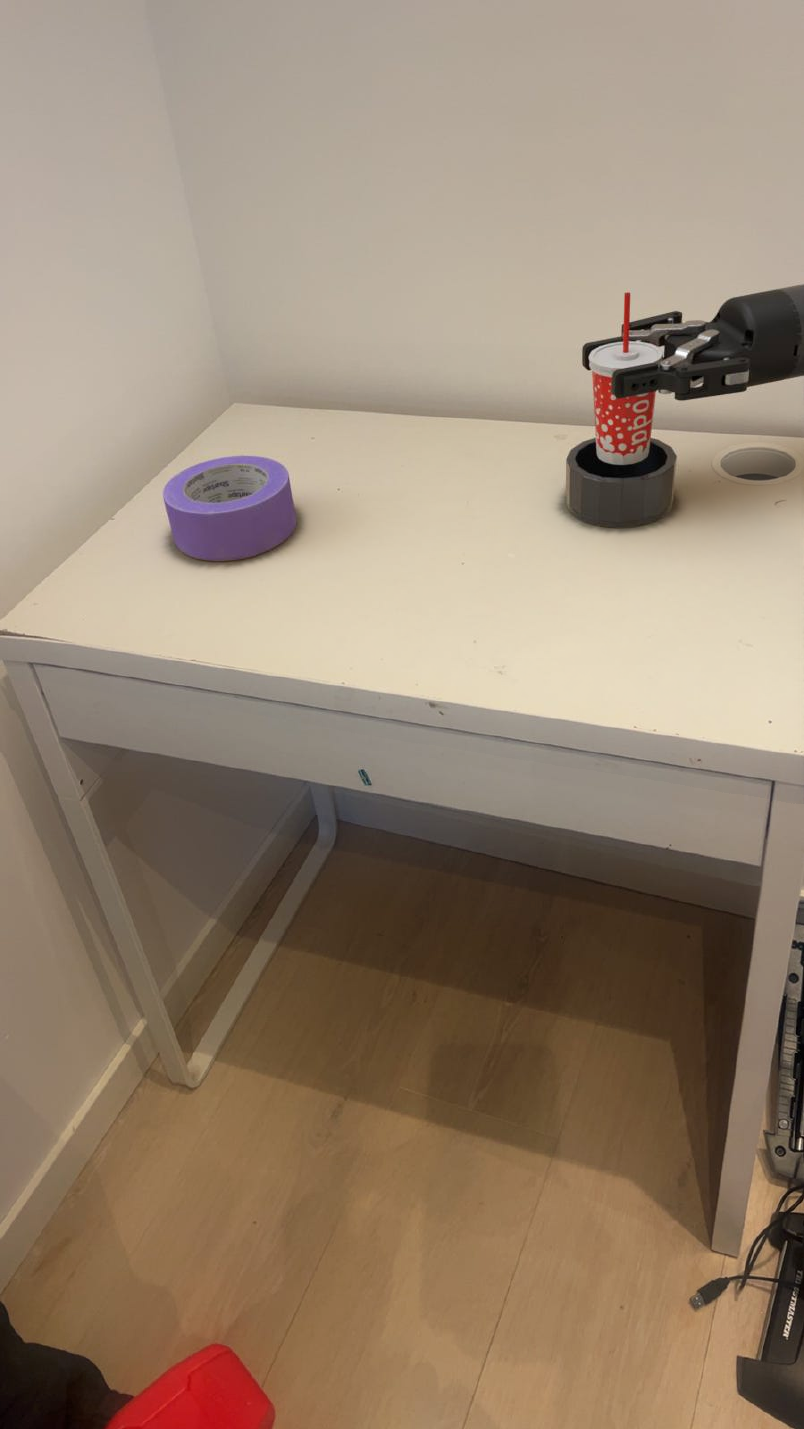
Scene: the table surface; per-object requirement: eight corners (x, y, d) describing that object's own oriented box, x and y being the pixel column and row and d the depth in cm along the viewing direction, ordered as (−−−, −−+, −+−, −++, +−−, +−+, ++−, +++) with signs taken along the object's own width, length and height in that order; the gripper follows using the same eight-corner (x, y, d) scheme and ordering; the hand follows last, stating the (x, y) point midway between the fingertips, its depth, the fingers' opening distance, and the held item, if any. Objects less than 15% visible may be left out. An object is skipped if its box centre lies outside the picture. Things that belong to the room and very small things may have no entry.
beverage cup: (603, 474, 90) (606, 311, 82) (577, 446, 95) (578, 289, 86) (669, 460, 91) (679, 297, 82) (640, 433, 96) (647, 276, 87)
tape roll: (228, 492, 105) (218, 445, 102) (321, 513, 100) (313, 465, 97) (149, 547, 98) (135, 499, 95) (244, 573, 92) (233, 523, 89)
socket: (657, 473, 100) (660, 429, 97) (684, 521, 92) (689, 475, 90) (558, 484, 100) (558, 440, 97) (577, 533, 92) (578, 487, 90)
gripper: (745, 267, 93) (567, 301, 91) (833, 316, 82) (633, 355, 80) (737, 350, 98) (568, 384, 96) (819, 407, 87) (630, 446, 85)
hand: (598, 371), depth 88 cm, fingers closed on beverage cup, 6 cm apart
